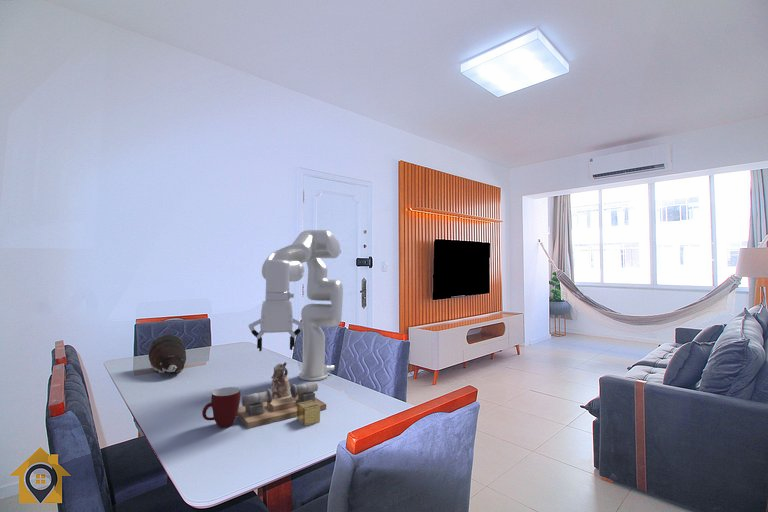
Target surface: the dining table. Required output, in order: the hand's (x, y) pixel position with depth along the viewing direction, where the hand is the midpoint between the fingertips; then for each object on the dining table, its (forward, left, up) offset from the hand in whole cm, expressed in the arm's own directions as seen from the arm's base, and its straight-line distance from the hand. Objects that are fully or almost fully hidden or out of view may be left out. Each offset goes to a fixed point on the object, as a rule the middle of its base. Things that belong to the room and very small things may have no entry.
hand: (275, 349), depth 122 cm
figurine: (-8, -15, -21) cm, 27 cm away
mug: (+16, 0, -21) cm, 27 cm away
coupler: (-7, +11, -21) cm, 24 cm away
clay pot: (+21, -72, -21) cm, 78 cm away
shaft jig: (-3, -1, -21) cm, 21 cm away
